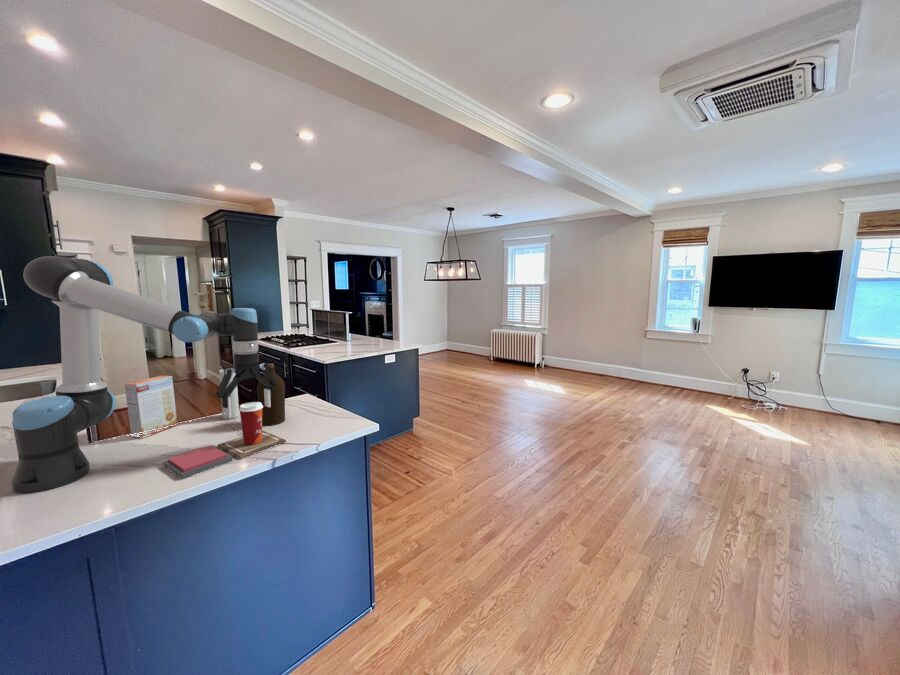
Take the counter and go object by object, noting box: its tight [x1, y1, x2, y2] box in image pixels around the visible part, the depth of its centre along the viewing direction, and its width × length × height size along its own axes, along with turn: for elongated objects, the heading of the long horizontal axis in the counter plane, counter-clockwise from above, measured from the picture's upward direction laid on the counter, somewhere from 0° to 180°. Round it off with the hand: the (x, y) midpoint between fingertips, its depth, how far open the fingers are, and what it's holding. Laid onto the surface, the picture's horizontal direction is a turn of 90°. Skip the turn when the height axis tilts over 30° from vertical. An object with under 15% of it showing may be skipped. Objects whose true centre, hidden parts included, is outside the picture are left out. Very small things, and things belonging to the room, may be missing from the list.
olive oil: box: [256, 362, 286, 427], centre depth 149 cm, size 11×11×25 cm
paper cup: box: [239, 401, 263, 445], centre depth 127 cm, size 8×8×14 cm
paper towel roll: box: [218, 368, 240, 420], centre depth 155 cm, size 7×6×21 cm
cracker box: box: [124, 375, 178, 437], centre depth 139 cm, size 14×6×21 cm, turn 168°
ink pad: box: [162, 445, 234, 480], centre depth 114 cm, size 14×14×2 cm
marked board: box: [217, 429, 287, 460], centre depth 128 cm, size 16×16×1 cm
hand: (249, 411), depth 127 cm, fingers open, 13 cm apart
